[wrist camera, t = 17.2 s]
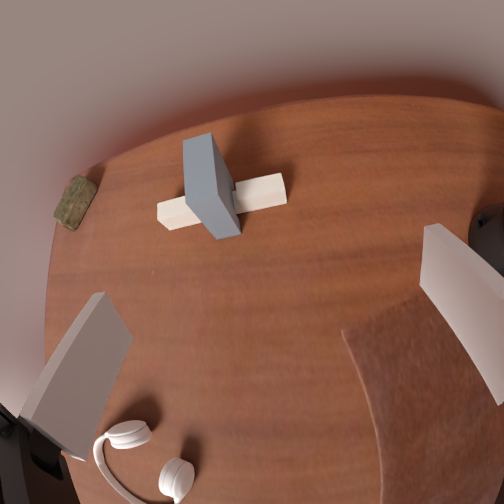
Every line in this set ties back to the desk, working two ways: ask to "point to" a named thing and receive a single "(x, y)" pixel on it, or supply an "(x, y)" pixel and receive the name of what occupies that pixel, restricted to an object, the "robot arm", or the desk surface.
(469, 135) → the desk surface
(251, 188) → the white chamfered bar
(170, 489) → the headphones
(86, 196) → the stone block
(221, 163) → the blue-grey rectangular block
